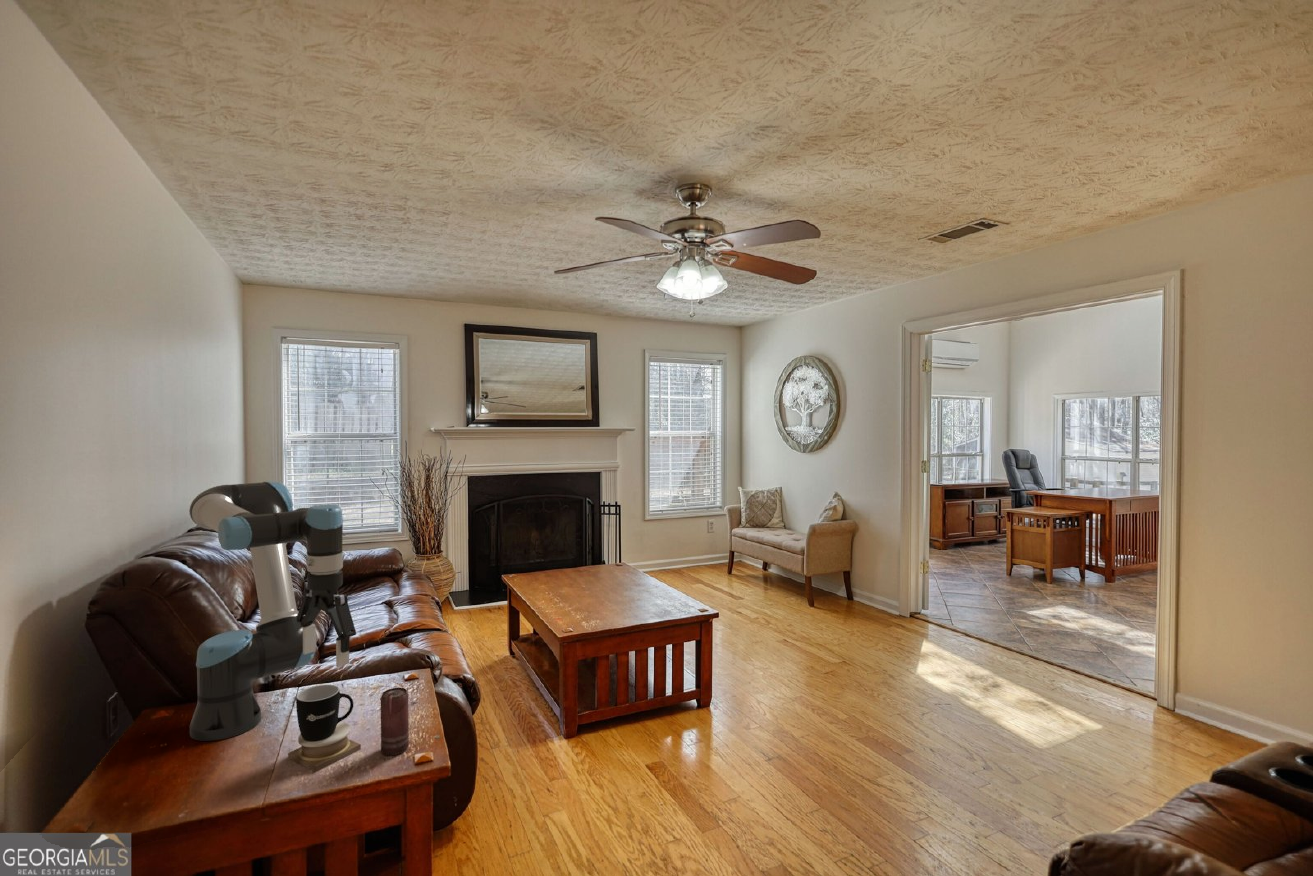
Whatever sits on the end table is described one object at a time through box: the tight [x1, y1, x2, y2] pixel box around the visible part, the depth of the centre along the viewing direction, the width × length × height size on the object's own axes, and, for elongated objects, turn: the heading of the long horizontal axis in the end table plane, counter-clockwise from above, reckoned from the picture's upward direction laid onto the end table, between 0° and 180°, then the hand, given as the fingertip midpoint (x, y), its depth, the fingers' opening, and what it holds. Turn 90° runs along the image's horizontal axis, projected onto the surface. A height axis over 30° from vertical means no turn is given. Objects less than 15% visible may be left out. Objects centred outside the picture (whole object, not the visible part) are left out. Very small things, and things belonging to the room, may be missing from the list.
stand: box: [287, 721, 362, 773], centre depth 148 cm, size 11×11×5 cm
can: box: [380, 687, 410, 757], centre depth 149 cm, size 6×6×14 cm
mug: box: [295, 684, 354, 742], centre depth 147 cm, size 12×9×10 cm
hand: (325, 658), depth 149 cm, fingers open, 13 cm apart
